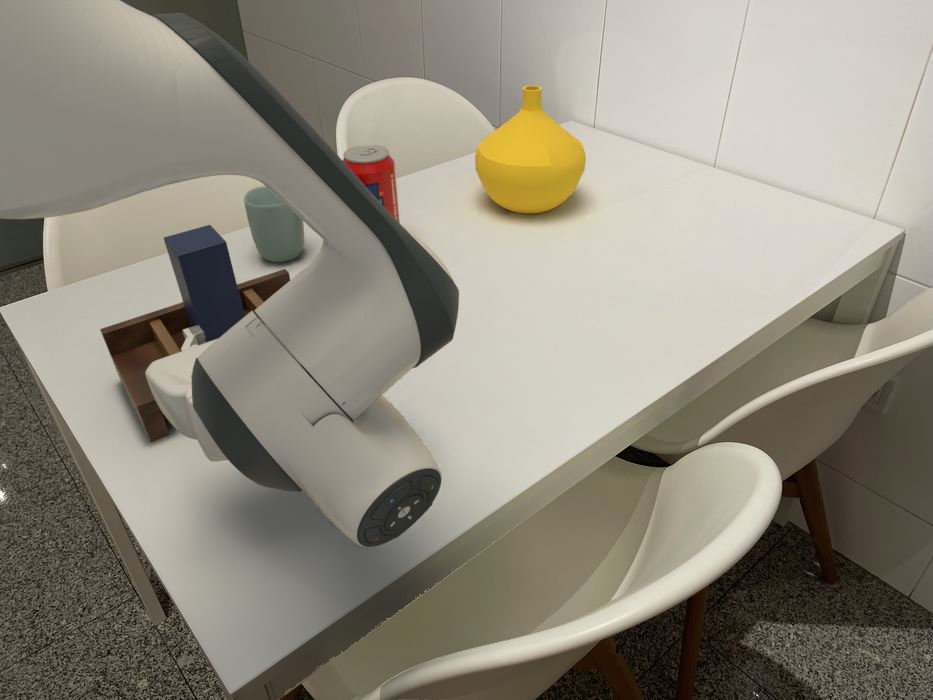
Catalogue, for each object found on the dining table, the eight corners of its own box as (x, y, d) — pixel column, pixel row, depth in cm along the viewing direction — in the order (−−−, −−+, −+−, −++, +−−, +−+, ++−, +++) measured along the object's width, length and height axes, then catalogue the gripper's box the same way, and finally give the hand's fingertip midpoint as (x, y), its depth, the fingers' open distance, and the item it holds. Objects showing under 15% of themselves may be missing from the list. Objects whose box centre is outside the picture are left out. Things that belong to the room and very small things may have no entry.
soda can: (411, 241, 110) (404, 148, 101) (380, 262, 104) (369, 166, 95) (373, 230, 113) (363, 139, 104) (340, 250, 108) (327, 155, 99)
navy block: (208, 359, 77) (177, 255, 70) (194, 338, 81) (163, 237, 73) (251, 343, 80) (226, 241, 72) (236, 323, 83) (210, 224, 75)
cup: (255, 248, 109) (241, 188, 103) (305, 240, 111) (295, 180, 105) (258, 272, 103) (244, 209, 97) (311, 263, 105) (300, 201, 99)
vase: (453, 204, 120) (449, 91, 109) (520, 172, 131) (522, 66, 120) (538, 236, 110) (543, 114, 99) (602, 198, 121) (614, 85, 110)
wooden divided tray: (150, 442, 74) (127, 383, 69) (122, 384, 82) (99, 328, 77) (337, 365, 84) (327, 310, 79) (295, 321, 92) (285, 268, 87)
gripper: (409, 316, 60) (335, 254, 69) (168, 410, 51) (120, 324, 60) (413, 373, 64) (343, 308, 73) (190, 471, 54) (142, 382, 63)
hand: (241, 316), depth 66 cm, fingers open, 8 cm apart
